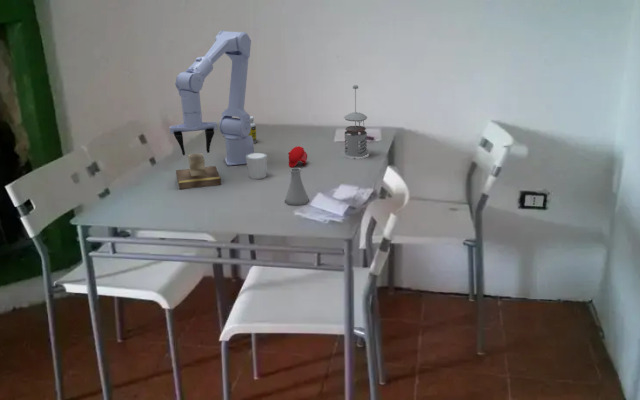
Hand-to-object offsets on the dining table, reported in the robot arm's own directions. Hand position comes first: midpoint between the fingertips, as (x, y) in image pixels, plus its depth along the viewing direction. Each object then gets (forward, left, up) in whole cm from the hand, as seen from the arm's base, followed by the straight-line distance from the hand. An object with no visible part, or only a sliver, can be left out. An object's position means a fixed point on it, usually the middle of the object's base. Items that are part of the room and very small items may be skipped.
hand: (195, 153), depth 212 cm
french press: (-57, -9, -9) cm, 58 cm away
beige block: (0, 0, -7) cm, 7 cm away
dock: (0, 0, -9) cm, 9 cm away
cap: (-34, -5, -10) cm, 36 cm away
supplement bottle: (-23, -37, -9) cm, 44 cm away
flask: (-26, +28, -9) cm, 39 cm away
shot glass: (-19, +2, -9) cm, 21 cm away
